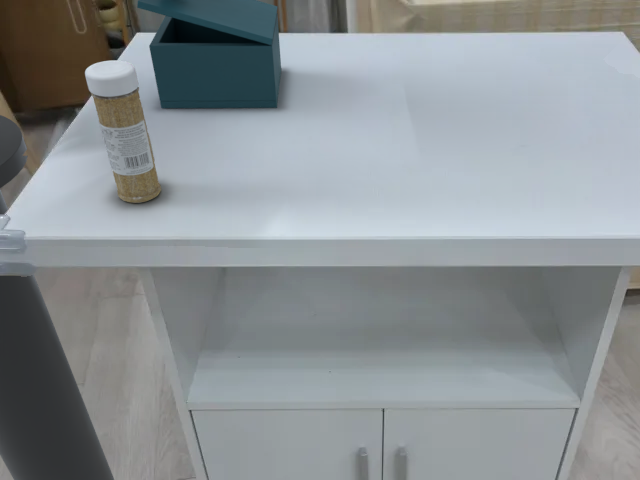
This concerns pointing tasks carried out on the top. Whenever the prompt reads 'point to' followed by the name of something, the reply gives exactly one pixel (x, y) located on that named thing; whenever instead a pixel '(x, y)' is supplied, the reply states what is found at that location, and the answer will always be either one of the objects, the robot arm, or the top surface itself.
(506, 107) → the top surface
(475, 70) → the top surface
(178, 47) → the teal hollow box
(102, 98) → the sprinkles bottle
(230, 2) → the lid
